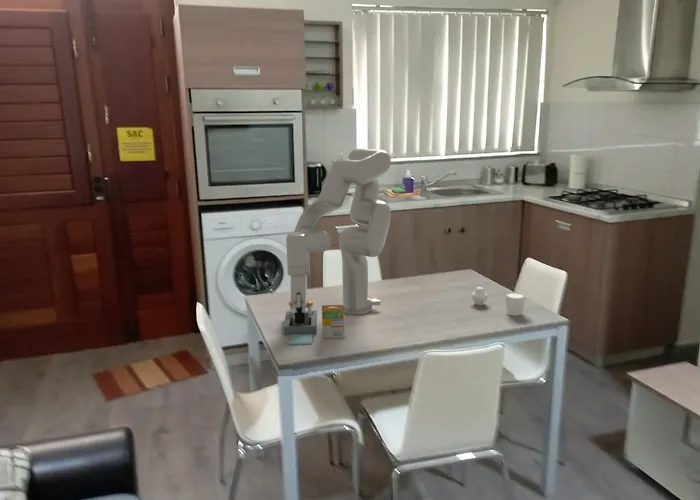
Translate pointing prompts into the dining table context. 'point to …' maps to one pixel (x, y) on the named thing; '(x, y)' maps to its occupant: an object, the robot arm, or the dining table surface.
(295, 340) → the pad
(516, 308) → the shot glass
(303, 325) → the pill bottle
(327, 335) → the crayon box
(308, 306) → the plunger
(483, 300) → the white rounded lump
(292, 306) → the plunger
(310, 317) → the housing
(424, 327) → the dining table surface
